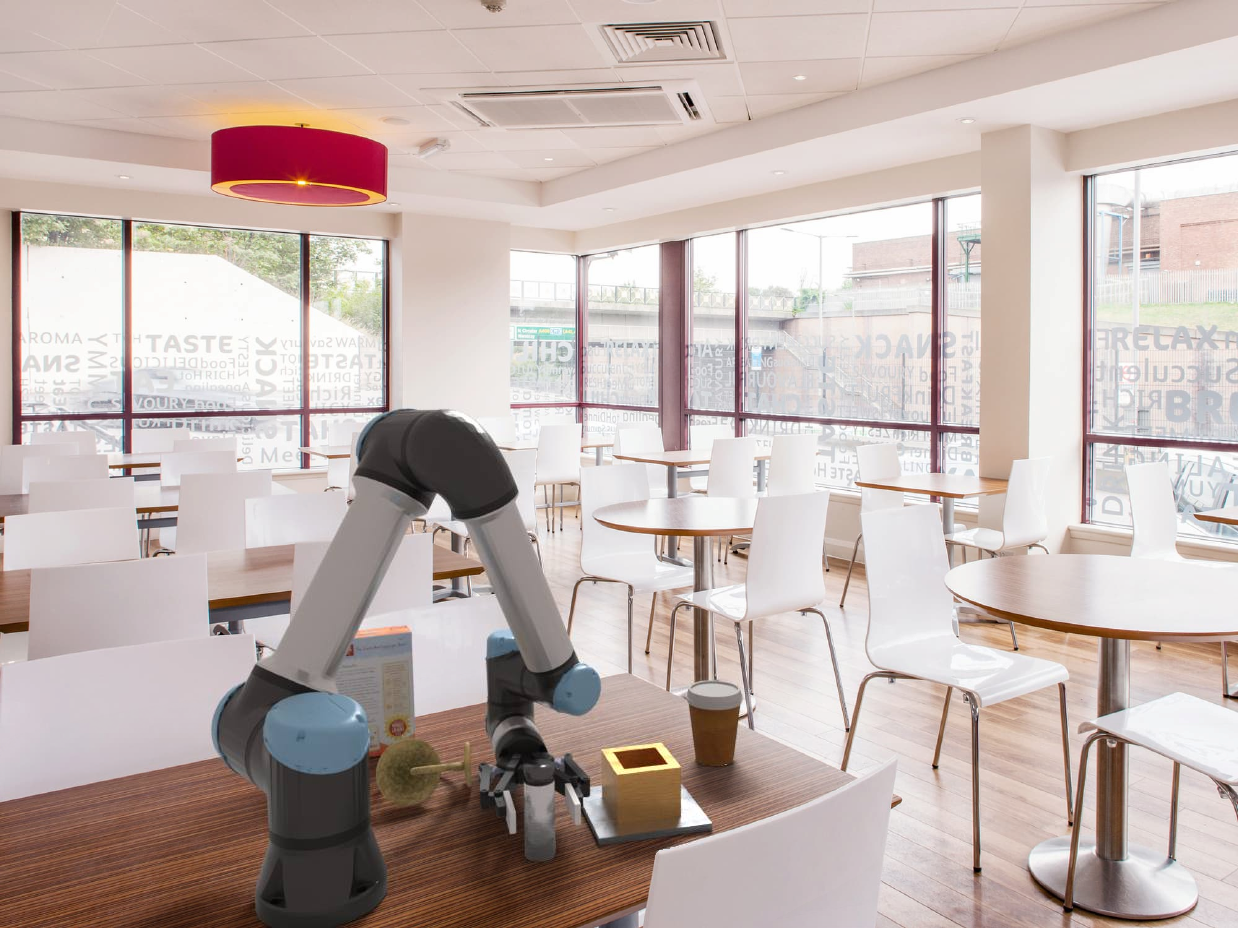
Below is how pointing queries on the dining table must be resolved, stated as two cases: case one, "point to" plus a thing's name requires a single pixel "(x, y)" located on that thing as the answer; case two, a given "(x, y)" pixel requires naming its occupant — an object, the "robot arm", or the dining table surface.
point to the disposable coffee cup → (714, 720)
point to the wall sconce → (414, 771)
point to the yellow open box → (641, 797)
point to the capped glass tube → (539, 810)
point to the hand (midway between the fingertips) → (545, 818)
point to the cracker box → (381, 683)
